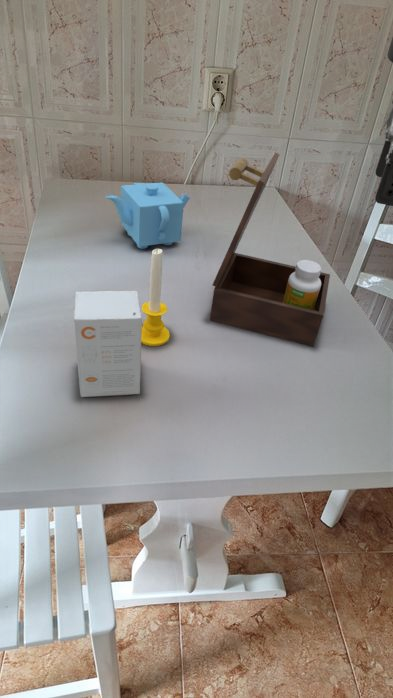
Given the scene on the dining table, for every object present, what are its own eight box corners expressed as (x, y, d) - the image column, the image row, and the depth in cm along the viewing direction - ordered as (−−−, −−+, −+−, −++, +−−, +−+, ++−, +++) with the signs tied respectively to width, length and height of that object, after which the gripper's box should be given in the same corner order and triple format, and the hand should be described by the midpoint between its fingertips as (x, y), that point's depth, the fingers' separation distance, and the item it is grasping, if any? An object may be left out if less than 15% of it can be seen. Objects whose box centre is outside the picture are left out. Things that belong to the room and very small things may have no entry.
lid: (279, 154, 76) (248, 139, 76) (264, 182, 66) (228, 165, 66) (235, 250, 88) (208, 238, 88) (216, 287, 78) (185, 273, 78)
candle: (139, 347, 75) (142, 257, 65) (133, 327, 78) (135, 239, 69) (172, 344, 76) (180, 255, 66) (165, 324, 80) (171, 237, 70)
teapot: (201, 249, 101) (207, 197, 94) (118, 262, 94) (118, 206, 87) (170, 217, 112) (174, 168, 105) (93, 226, 105) (92, 174, 98)
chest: (320, 304, 89) (330, 274, 85) (313, 347, 79) (323, 315, 75) (228, 282, 92) (233, 252, 88) (209, 320, 82) (213, 289, 78)
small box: (136, 364, 72) (138, 289, 63) (140, 395, 67) (142, 318, 59) (80, 366, 70) (74, 290, 62) (79, 398, 65) (73, 319, 57)
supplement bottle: (279, 321, 82) (292, 271, 76) (280, 304, 87) (292, 255, 80) (311, 326, 82) (326, 276, 76) (310, 309, 86) (325, 260, 80)
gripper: (512, 15, 36) (425, 222, 46) (481, 5, 47) (416, 175, 57) (407, 1, 37) (345, 206, 47) (401, -5, 48) (351, 163, 58)
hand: (384, 189), depth 52 cm, fingers open, 8 cm apart
